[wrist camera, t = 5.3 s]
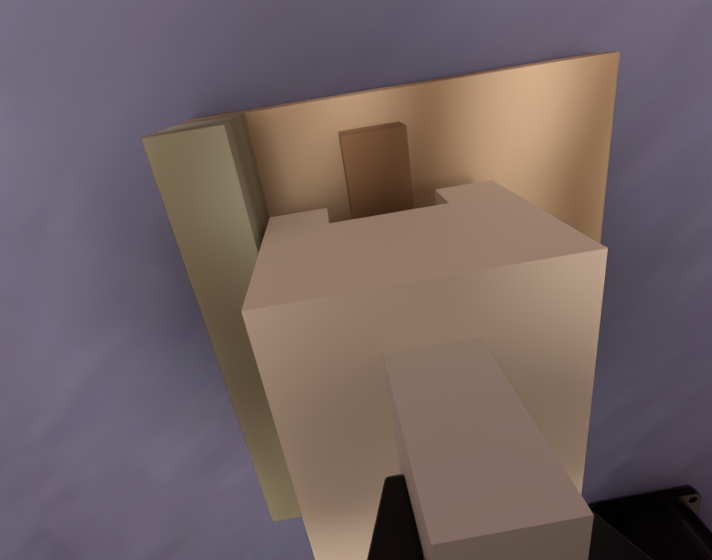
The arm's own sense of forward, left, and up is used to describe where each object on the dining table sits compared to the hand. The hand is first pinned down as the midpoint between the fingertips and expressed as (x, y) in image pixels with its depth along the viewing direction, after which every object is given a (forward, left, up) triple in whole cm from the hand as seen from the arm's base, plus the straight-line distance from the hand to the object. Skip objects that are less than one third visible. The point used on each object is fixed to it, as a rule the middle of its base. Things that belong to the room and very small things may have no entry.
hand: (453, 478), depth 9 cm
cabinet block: (0, 0, -7) cm, 7 cm away
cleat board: (-1, 0, -10) cm, 10 cm away
